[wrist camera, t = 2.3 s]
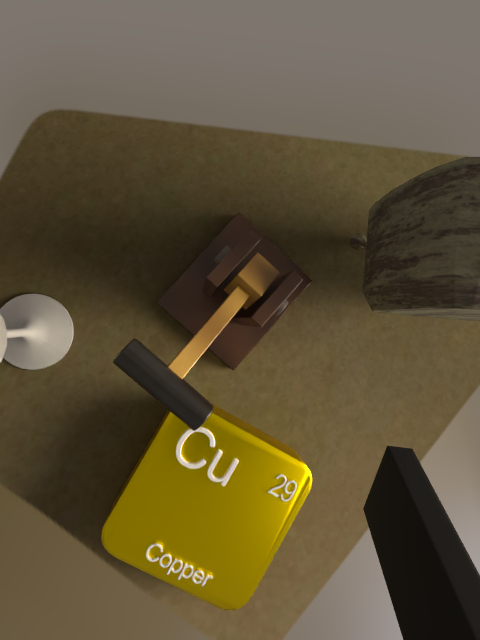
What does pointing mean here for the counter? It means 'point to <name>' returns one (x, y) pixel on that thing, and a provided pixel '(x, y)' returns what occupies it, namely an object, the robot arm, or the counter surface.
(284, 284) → the wooden lever stand
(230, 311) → the lever
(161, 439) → the element tile
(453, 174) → the tabletop clock
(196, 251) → the counter surface
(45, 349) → the wineglass
